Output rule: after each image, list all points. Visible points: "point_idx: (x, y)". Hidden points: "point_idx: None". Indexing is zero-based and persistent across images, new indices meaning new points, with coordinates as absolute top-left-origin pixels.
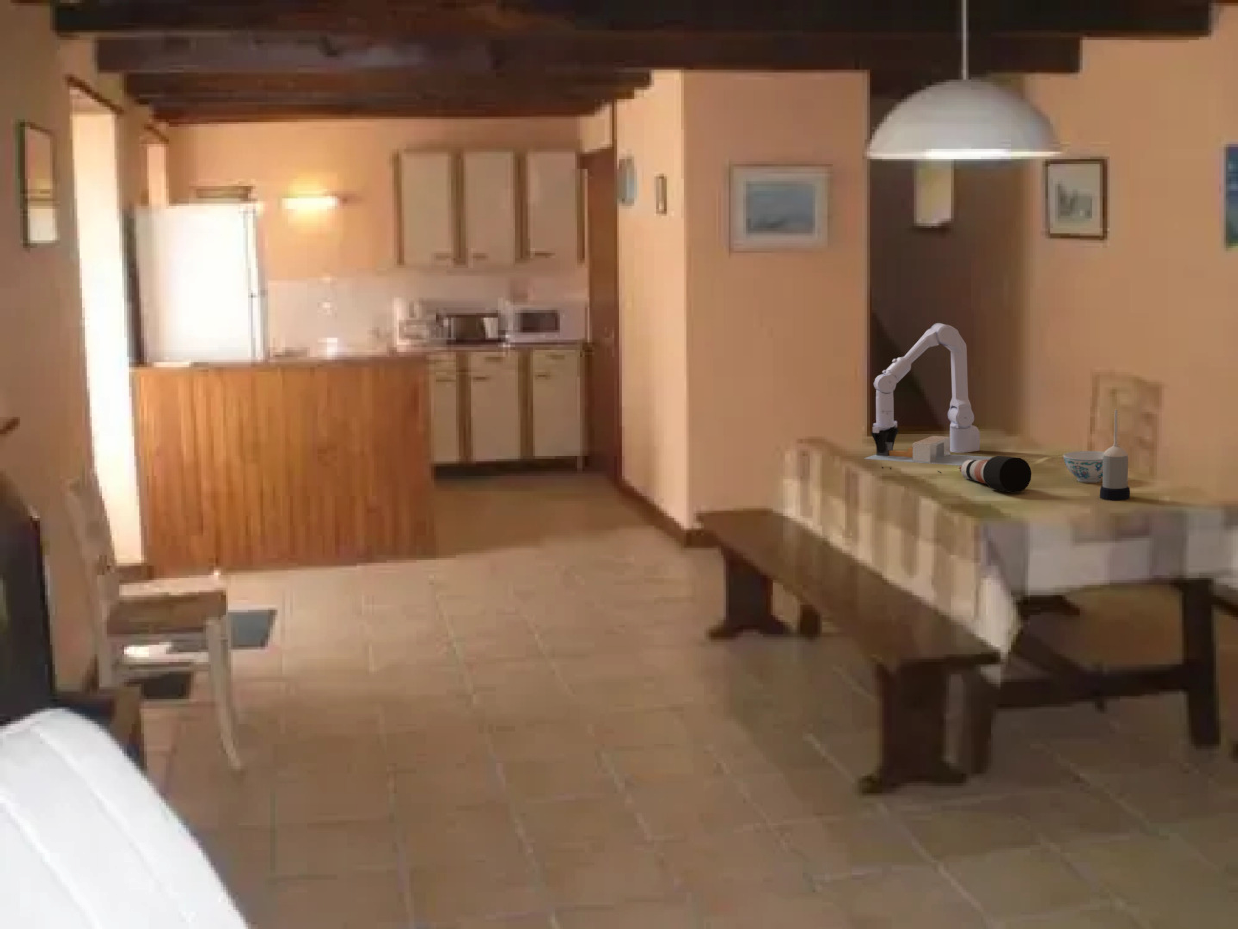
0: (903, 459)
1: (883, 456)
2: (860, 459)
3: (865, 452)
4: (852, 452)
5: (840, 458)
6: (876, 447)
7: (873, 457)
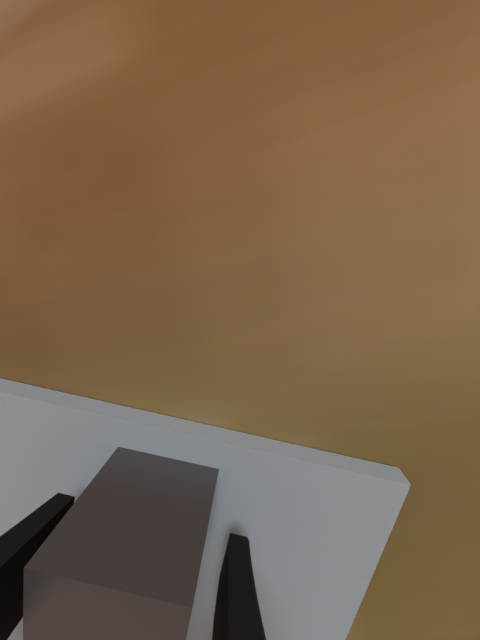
0: (21, 629)
1: None
2: (24, 329)
3: (391, 282)
4: (382, 141)
5: (6, 128)
6: (66, 514)
7: (19, 443)
